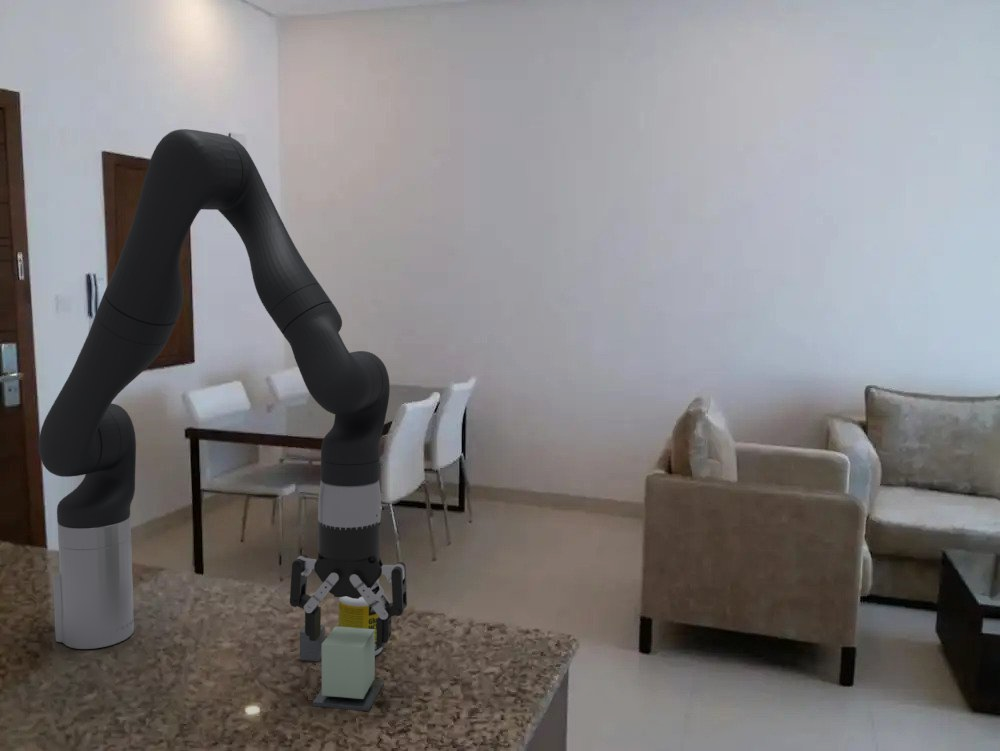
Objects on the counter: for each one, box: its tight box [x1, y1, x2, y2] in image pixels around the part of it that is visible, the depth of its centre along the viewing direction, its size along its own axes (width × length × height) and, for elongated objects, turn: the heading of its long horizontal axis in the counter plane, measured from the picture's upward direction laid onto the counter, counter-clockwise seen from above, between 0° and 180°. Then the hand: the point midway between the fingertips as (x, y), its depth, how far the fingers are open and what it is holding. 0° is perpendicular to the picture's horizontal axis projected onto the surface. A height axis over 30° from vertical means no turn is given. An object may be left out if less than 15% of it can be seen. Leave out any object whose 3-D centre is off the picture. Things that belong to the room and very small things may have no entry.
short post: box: [299, 624, 326, 663], centre depth 114 cm, size 3×3×4 cm
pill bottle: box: [338, 578, 384, 656], centre depth 116 cm, size 6×6×11 cm
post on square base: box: [312, 678, 385, 712], centre depth 104 cm, size 7×7×7 cm
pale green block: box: [321, 625, 376, 699], centre depth 104 cm, size 5×5×7 cm
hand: (348, 641), depth 104 cm, fingers open, 8 cm apart
